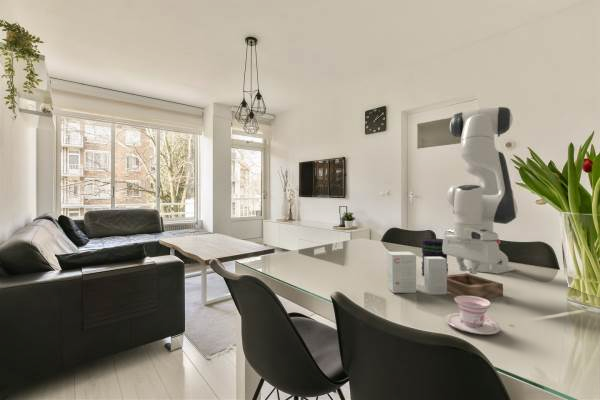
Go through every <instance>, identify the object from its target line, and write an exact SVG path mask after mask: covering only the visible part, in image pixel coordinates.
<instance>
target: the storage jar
mask: <svg viewBox="0 0 600 400" xmlns="http://www.w3.org/2000/svg"><path fill="white" fill-rule="evenodd" d="M443 239H444V238H436V237H435V238H430V237H429V238H428V237H427V238H422V239H421V249H422V250H421V253H422V261H421V271H422V273H421V276H422V277H424V257H443V258H446V259H447V260H448V255H446V254H444V253H443V251H442V246H443ZM448 267H449V265H448V263H447V275H449V274H448V272H449V268H448Z"/></svg>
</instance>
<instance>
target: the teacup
mask: <svg viewBox="0 0 600 400" xmlns="http://www.w3.org/2000/svg"><path fill="white" fill-rule="evenodd" d="M454 301H455V303H456V305H457V308H458V309H459V312H455V313H449V314H446V316H445V317H444V318H445V322H446V323H447V324H448V325H450V326H451V327H453V328H456V329H458V330H460V331H463V332H468V333H470V334H471V333H472V334H476V335H477V334H478V335H494V334H497V333H499V332H500V329H501V327H500V325H499V324H498V323H496V322H495V321H493V320H491V319H489V318H487V317H485V314H486V313H487V311H488V309H490V307H491V304H492V302H490V300H489V299H487V298H480V297H475V296H457V295H456V296H455V297H454Z"/></svg>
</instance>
